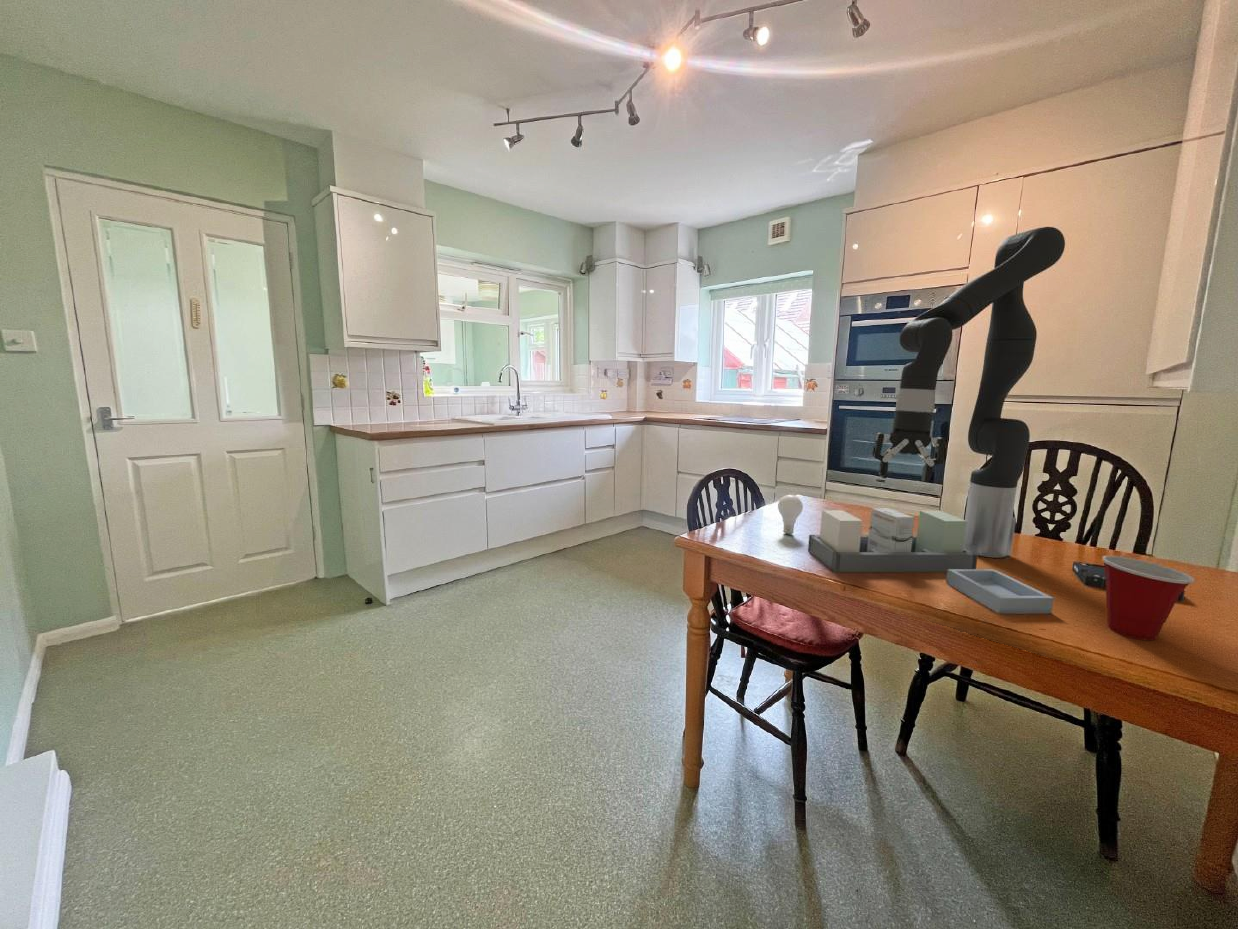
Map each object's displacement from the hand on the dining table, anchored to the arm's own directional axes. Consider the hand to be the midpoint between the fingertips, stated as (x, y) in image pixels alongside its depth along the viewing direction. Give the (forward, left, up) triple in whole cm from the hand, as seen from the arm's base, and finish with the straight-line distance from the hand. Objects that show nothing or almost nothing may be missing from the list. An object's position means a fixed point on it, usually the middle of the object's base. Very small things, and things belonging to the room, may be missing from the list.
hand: (903, 479), depth 116 cm
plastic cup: (-20, +36, -19) cm, 45 cm away
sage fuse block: (-9, +2, -19) cm, 21 cm away
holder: (+3, +2, -19) cm, 19 cm away
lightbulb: (+19, -18, -19) cm, 32 cm away
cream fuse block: (+15, +2, -19) cm, 24 cm away
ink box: (+3, +2, -19) cm, 20 cm away
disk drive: (-40, +16, -20) cm, 47 cm away
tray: (-7, +22, -19) cm, 30 cm away
